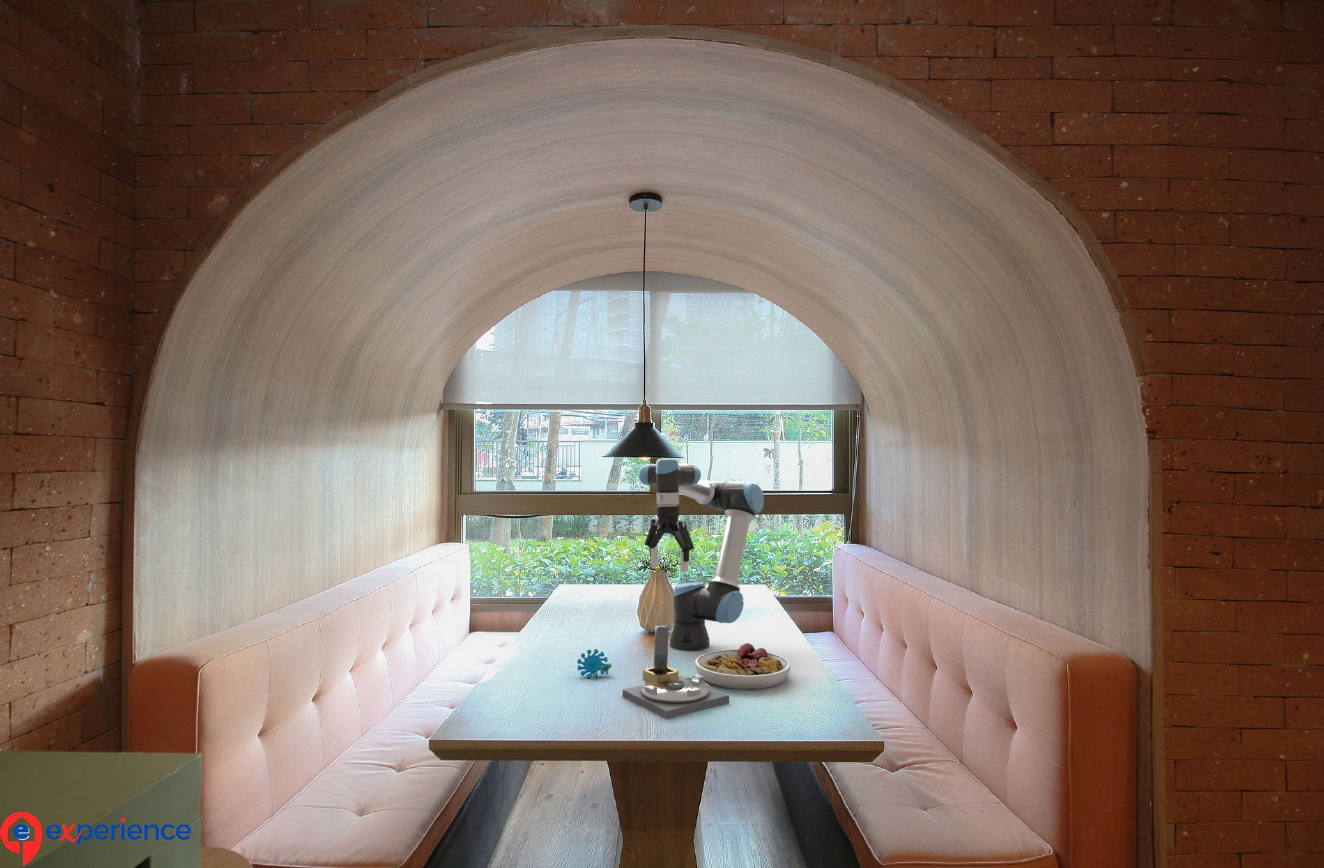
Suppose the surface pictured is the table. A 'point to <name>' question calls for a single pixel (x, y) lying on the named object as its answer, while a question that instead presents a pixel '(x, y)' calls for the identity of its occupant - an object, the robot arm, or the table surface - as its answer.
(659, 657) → the pin
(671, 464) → the robot arm
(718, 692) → the nut plate
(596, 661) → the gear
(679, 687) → the silver disc with box
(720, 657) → the bowl
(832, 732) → the table surface
